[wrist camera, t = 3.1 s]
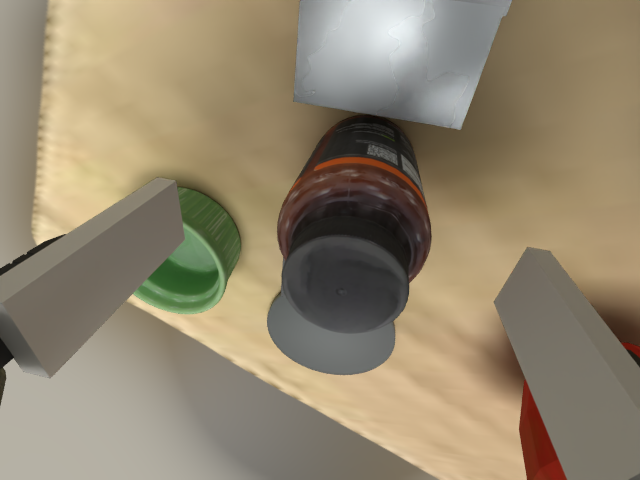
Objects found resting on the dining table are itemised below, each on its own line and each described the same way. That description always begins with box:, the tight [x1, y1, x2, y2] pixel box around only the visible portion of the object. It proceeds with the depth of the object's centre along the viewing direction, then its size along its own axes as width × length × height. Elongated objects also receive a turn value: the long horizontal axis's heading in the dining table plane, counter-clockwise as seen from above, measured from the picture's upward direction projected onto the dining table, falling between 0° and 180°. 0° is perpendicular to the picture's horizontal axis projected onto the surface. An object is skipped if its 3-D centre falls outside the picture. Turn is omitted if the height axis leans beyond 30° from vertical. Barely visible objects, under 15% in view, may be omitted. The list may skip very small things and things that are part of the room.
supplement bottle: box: [277, 115, 432, 334], centre depth 14 cm, size 6×6×11 cm
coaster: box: [267, 293, 395, 375], centre depth 27 cm, size 11×11×1 cm
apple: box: [519, 343, 640, 480], centre depth 18 cm, size 12×12×14 cm
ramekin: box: [133, 187, 241, 314], centre depth 23 cm, size 9×9×4 cm
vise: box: [281, 0, 512, 297], centre depth 15 cm, size 20×9×5 cm, turn 173°
